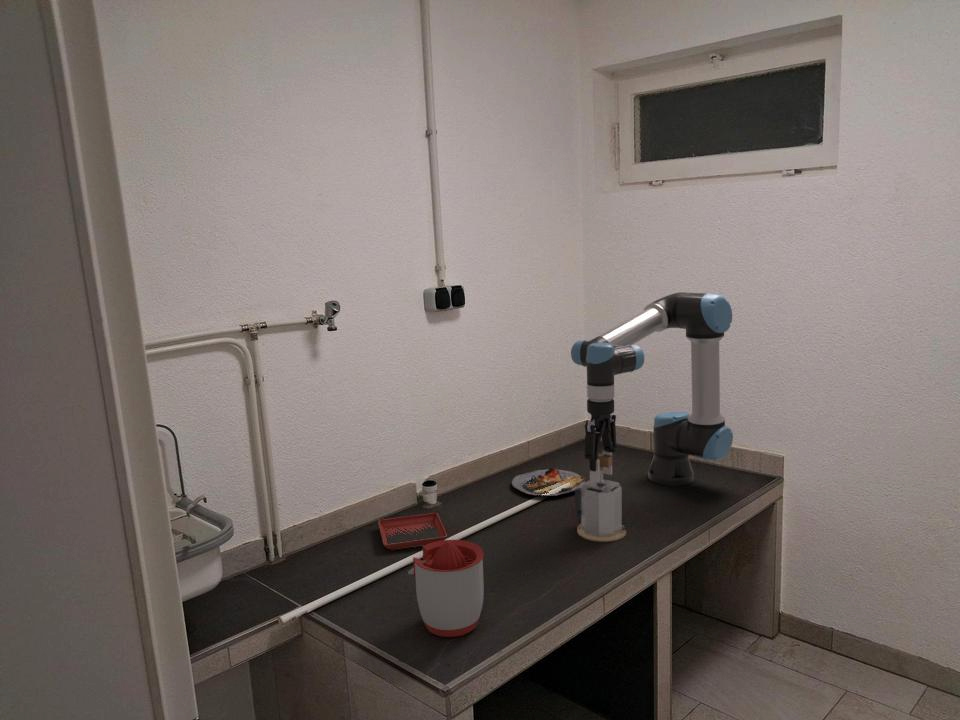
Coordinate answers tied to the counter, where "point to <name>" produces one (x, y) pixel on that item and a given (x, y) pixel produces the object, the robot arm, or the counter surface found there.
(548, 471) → the food plate
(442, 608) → the citrus juicer
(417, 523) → the plant saucer
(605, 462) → the plunger
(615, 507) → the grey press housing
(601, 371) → the robot arm
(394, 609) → the counter surface
